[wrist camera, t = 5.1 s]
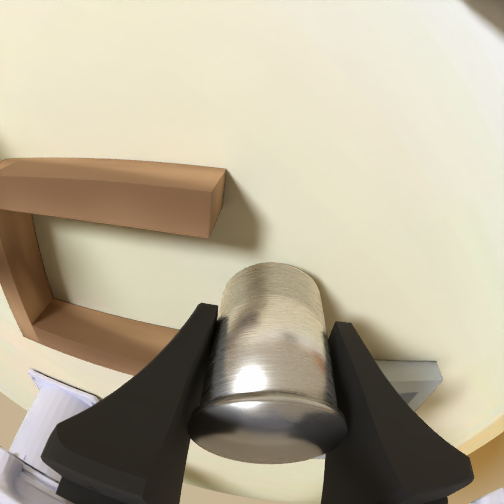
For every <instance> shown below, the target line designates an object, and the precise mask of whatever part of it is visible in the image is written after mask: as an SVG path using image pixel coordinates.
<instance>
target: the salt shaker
mask: <svg viewBox="0 0 504 504" xmlns="http://www.w3.org/2000/svg"><path fill="white" fill-rule="evenodd" d="M187 431H188V435H189V436H190V438H191V439H192V440H193V441H194V442H195V443H196V444H197V445H199V446H200V447H202V448H203V449H205V450H207V451H209V452H211V453H213V454H216V455H218V456H221V457H224V458H228V459H232V460H236V461H241V462H247V463H257V464H283V463H293V462H299V461H304V460H308V459H312V458H315V457H318V456H321V455H323V454H326V453H328V452H330V451H332V450H334V449H335V448H336V447H338V446H339V445H340V444H341V443H342V442H343V441H344V440H345V438H346V436H347V432H348V430H347V422H346V418H345V416H344V414H343V413H342V412H341V411H340V410H339V409H338V408H337V400H336V392H335V385H334V377H333V370H332V363H331V357H330V350H329V344H328V337H327V331H326V325H325V319H324V313H323V307H322V302H321V296H320V292H319V289H318V287H317V285H316V283H315V282H314V280H313V279H312V278H311V277H310V276H309V275H308V274H306V273H305V272H304V271H302V270H300V269H298V268H296V267H294V266H291V265H288V264H283V263H274V262H270V263H260V264H256V265H252V266H249V267H247V268H245V269H243V270H241V271H240V272H238V273H237V274H235V275H234V276H233V277H232V278H231V279H230V281H229V282H228V284H227V285H226V287H225V290H224V293H223V297H222V302H221V306H220V311H219V315H218V320H217V324H216V329H215V333H214V338H213V343H212V347H211V352H210V357H209V361H208V366H207V371H206V375H205V380H204V385H203V390H202V395H201V399H200V404H199V406H198V407H196V408H195V409H194V410H193V411H192V413H191V414H190V417H189V421H188V426H187Z"/></svg>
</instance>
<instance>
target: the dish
mask: <svg viewBox="0 0 504 504" xmlns="http://www.w3.org/2000/svg"><path fill="white" fill-rule="evenodd" d="M375 362H376V363H377V365H378V366H379V368H380V369H381V371H382V372H383V374H384V375H385V377H386V378H387V379H388V381H389V382H390V383H391V385H392V386H393V387H394V389H395V390H396V391H397V393H398V394H399V395H400V396H401V397H402V399H403V400H404V401H405V402H406V403H407V404H408V406H409V407H410V408H411V409H412V410H413V411H414V412H415V411H416V410H417V409H418V407H419V406H420V405H421V404H422V403H423V402H424V401H425V400H426V399H427V398H428V397H429V396H430V394H431V393H432V392H433V391H434V390H435V389H436V388H437V386H438V385H439V384H440V383H441V382H442V381H443V377H442V375H441V372H440V369H439V367H438V364H437V362H436V361H382V360H375ZM312 459H325V454H323V455H321V456H318V457H315V458H312Z"/></svg>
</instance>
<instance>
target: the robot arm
mask: <svg viewBox="0 0 504 504" xmlns="http://www.w3.org/2000/svg"><path fill="white" fill-rule="evenodd" d="M217 316H218V306H217V305H211V304H205V303H200V304H199V305H198V306H197V308H196V309H195V311H194V312H193V314H192V315H191V316H190V318H189V319H188V320H187V322H186V323H185V324H184V326H183V327H182V328H181V329H180V330H179V332H178V333H177V334H176V335H175V336H174V338H173V339H172V340H171V341H170V342H169V343H168V344H167V345H166V347H165V348H164V349H163V350H162V351H161V352H160V353H159V354H158V355H157V356H156V357H155V358H154V359H153V360H152V361H151V362H150V363H149V364H148V365H147V366H145V367H144V368H143V369H142V370H141V371H140V372H139V373H137V374H136V375H135V376H134V377H133V378H132V379H130V380H129V381H128V382H126V383H125V384H124V385H122V386H121V387H120V388H119V389H117V390H116V391H114V392H113V393H112V394H110V395H109V396H107V397H105V398H104V399H102V400H101V401H99V400H98V398H97V397H95V396H93V395H91V394H88V393H86V392H83V391H80V390H78V389H75V388H73V387H70V386H68V385H65V384H63V383H60V382H58V381H56V380H53V379H51V378H49V377H47V376H44V375H42V374H40V373H38V372H36V371H34V370H31V369H30V370H29V372H28V373H29V375H30V377H31V378H32V380H33V381H34V383H35V384H36V386H37V387H38V389H39V392H38V394H37V396H36V397H35V399H34V401H33V403H32V405H31V407H30V409H29V411H28V412H27V414H26V416H25V418H24V420H23V422H22V424H21V426H20V428H19V430H18V432H17V434H16V437H15V439H14V441H13V443H12V445H11V447H10V449H9V451H6V450H5V449H4V448H2V447H1V446H0V504H179V502H180V495H181V488H182V483H183V477H184V471H185V465H186V459H187V454H188V449H189V443H190V436H189V435H188V431H187V426H188V421H189V417H190V414H191V413H192V411H193V410H194V409H195V408H196V407H198V406H199V404H200V399H201V395H202V390H203V385H204V380H205V375H206V371H207V366H208V361H209V357H210V352H211V347H212V343H213V338H214V333H215V329H216V324H217ZM328 344H329V350H330V357H331V363H332V370H333V377H334V385H335V392H336V400H337V408H338V409H339V410H340V411H341V412H342V413H343V414H344V416H345V418H346V422H347V430H348V432H347V436H346V438H345V440H344V441H343V442H342V443H341V444H340V445H339V446H338V447H336V448H335V449H334V450H332V451H330V452H328V453H326V454H325V470H324V482H323V491H322V499H321V504H448V498H447V496H449V495H451V494H452V493H454V492H456V491H458V490H460V489H462V488H464V487H465V486H467V485H468V484H470V483H471V482H472V481H473V479H474V474H473V470H472V466H471V462H470V459H469V457H468V456H466V455H465V454H463V453H462V452H461V451H459V450H458V449H456V448H455V447H453V446H452V445H450V444H449V443H448V442H447V441H445V440H444V439H443V438H442V437H440V436H439V435H438V434H437V433H436V432H434V431H433V430H432V429H431V428H430V427H429V426H428V425H427V424H426V423H425V422H424V421H423V420H422V419H421V418H420V417H419V416H418V415H417V414H416V413H415V412H414V411H413V410H412V409H411V408H410V407H409V406H408V404H407V403H406V402H405V401H404V400H403V399H402V397H401V396H400V395H399V394H398V393H397V391H396V390H395V389H394V387H393V386H392V385H391V383H390V382H389V381H388V379H387V378H386V377H385V375H384V374H383V372H382V371H381V369H380V368H379V366H378V365H377V363H376V362H375V360H374V359H373V357H372V356H371V354H370V352H369V351H368V349H367V348H366V346H365V344H364V343H363V341H362V340H361V338H360V336H359V335H358V333H357V332H356V330H355V328H354V327H353V325H352V324H351V323H346V322H335V324H334V327H333V329H332V331H331V334H330V336H329V339H328ZM470 504H504V488H499V489H497V490H495V491H493V492H491V493H489V494H487V495H485V496H483V497H481V498H479V499H477V500H475V501H473V502H471V503H470Z"/></svg>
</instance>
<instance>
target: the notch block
mask: <svg viewBox="0 0 504 504" xmlns="http://www.w3.org/2000/svg"><path fill="white" fill-rule="evenodd" d="M225 174H226V169H222V168H213V167H205V166H195V165H185V164H175V163H163V162H150V161H136V160H118V159H95V158H12V159H5V160H2V161H0V284H1V286H2V289H3V292H4V294H5V297H6V299H7V301H8V304H9V306H10V308H11V311H12V313H13V315H14V317H15V320H16V322H17V324H18V326H19V328H20V330H21V332H22V334H23V336H24V337H26V338H28V339H30V340H33V341H35V342H37V343H40V344H42V345H45V346H47V347H50V348H52V349H55V350H57V351H60V352H62V353H65V354H68V355H70V356H73V357H76V358H79V359H82V360H85V361H88V362H90V363H93V364H97V365H100V366H103V367H106V368H109V369H112V370H116V371H119V372H123V373H126V374H130V375H133V376H135V375H136V374H137V373H139V372H140V371H141V370H142V369H143V368H144V367H145V366H147V365H148V364H149V363H150V362H151V361H152V360H153V359H154V358H155V357H156V356H157V355H158V354H159V353H160V352H161V351H162V350H163V349H164V348H165V347H166V345H167V344H168V343H169V342H170V341H171V340H172V339H173V338H174V336H175V335H176V334H177V333H178V332H179V330H177V329H172V328H167V327H162V326H158V325H153V324H148V323H144V322H140V321H135V320H131V319H127V318H123V317H119V316H115V315H111V314H107V313H103V312H99V311H95V310H92V309H88V308H84V307H81V306H77V305H74V304H70V303H67V302H63V301H60V300H57V299H53V296H52V293H51V290H50V287H49V284H48V280H47V277H46V274H45V270H44V267H43V263H42V259H41V255H40V251H39V247H38V243H37V239H36V234H35V230H34V225H33V220H32V215H31V213H33V214H40V215H47V216H54V217H62V218H69V219H76V220H83V221H90V222H97V223H104V224H112V225H119V226H126V227H133V228H140V229H146V230H153V231H160V232H167V233H174V234H181V235H188V236H194V237H201V238H209V236H210V234H211V231H212V229H213V227H214V225H215V222H216V220H217V218H218V216H219V214H220V211H221V209H222V206H223V195H224V184H225Z"/></svg>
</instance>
